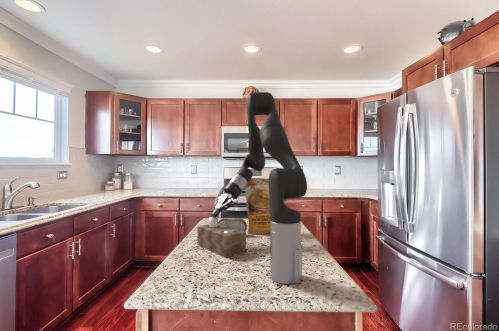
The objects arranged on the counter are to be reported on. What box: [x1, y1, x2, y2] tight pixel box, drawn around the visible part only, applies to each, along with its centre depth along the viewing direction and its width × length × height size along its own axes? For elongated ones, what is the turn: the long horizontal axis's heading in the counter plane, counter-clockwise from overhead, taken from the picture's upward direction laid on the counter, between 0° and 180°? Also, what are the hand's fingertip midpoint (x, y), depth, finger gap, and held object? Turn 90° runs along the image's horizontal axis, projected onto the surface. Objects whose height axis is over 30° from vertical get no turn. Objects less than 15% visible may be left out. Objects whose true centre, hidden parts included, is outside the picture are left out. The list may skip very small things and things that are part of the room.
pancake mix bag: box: [244, 178, 270, 235], centre depth 131 cm, size 7×19×28 cm, turn 103°
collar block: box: [196, 224, 247, 259], centre depth 105 cm, size 21×10×8 cm, turn 41°
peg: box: [208, 216, 219, 228], centre depth 109 cm, size 4×4×8 cm
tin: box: [218, 217, 248, 232], centre depth 126 cm, size 15×3×8 cm, turn 84°
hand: (213, 216), depth 109 cm, fingers closed
